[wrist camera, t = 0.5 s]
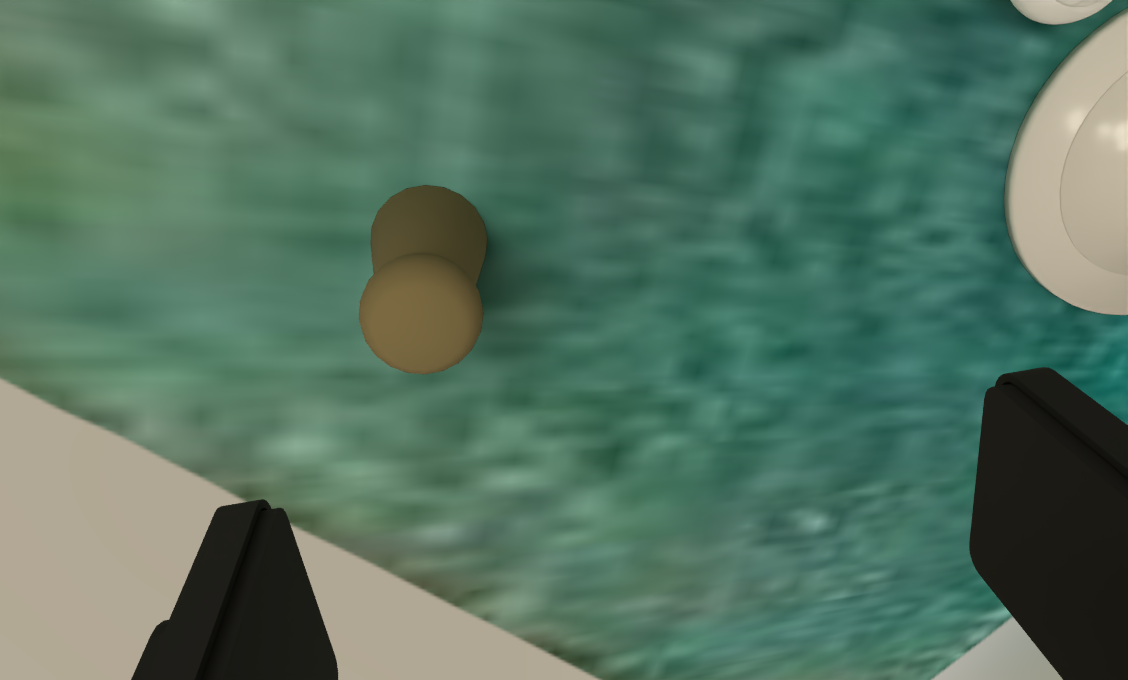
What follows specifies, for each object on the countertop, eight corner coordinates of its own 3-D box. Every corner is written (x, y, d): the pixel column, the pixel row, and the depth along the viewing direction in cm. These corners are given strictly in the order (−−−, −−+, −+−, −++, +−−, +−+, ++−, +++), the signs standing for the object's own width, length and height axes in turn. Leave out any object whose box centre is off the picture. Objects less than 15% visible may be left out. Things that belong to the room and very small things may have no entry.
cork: (500, 202, 44) (511, 283, 34) (470, 306, 47) (472, 409, 37) (384, 171, 43) (361, 245, 33) (359, 279, 45) (330, 378, 35)
